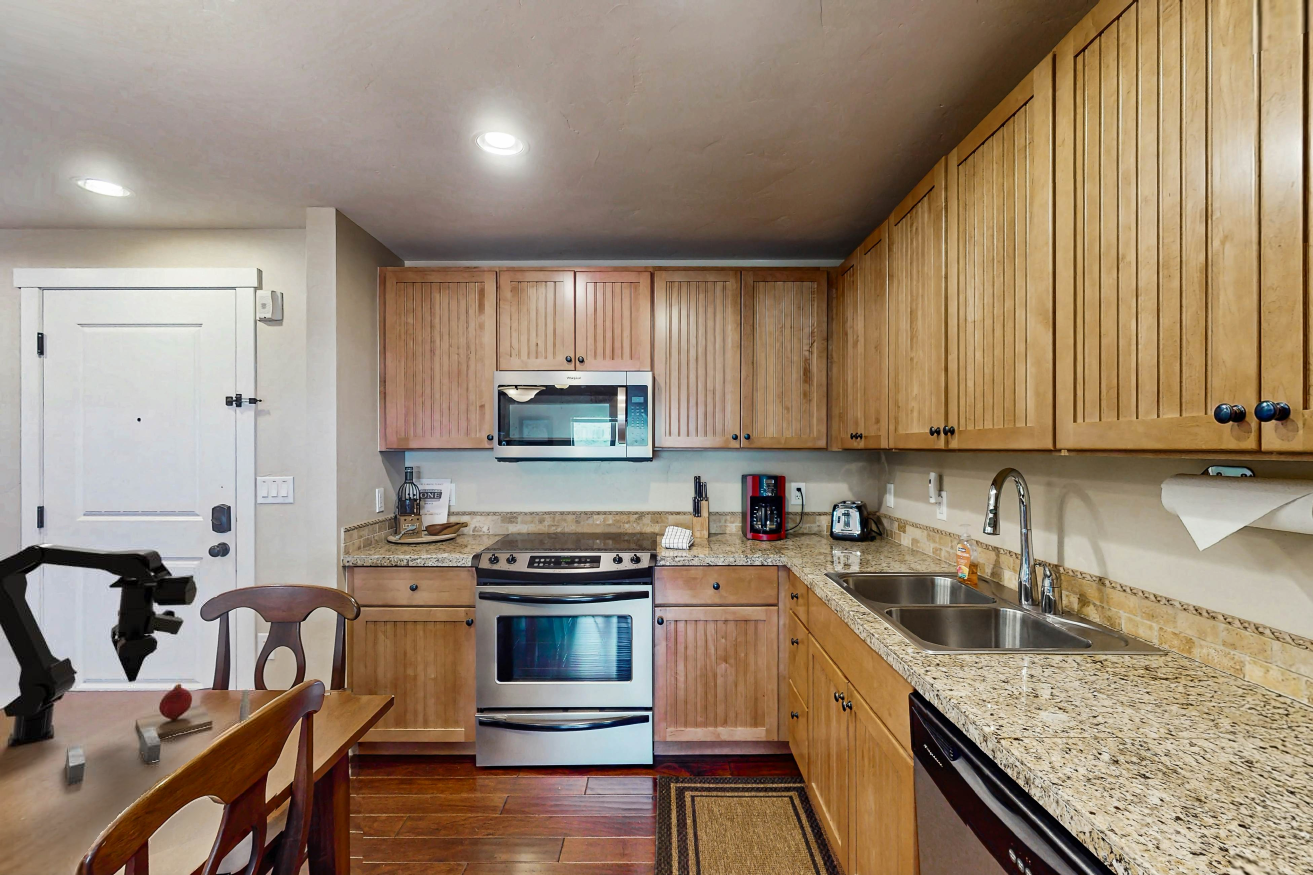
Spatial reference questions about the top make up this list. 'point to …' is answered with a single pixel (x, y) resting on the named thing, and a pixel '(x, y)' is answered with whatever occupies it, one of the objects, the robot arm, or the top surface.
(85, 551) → the robot arm
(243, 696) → the screw
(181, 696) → the onion
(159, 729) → the tan board
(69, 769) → the twin grey rails
